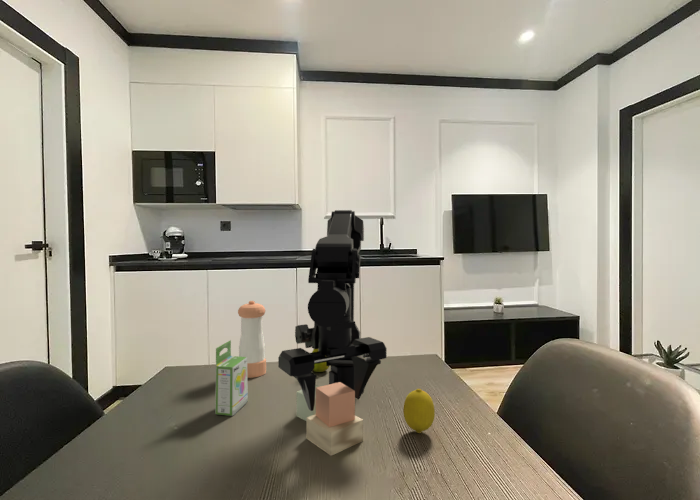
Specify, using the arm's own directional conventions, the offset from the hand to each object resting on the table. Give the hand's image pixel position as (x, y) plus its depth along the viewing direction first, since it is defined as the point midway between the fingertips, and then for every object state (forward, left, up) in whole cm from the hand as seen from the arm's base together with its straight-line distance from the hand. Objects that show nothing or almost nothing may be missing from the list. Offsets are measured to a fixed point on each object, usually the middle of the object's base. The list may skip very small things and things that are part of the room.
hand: (334, 403), depth 65 cm
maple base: (0, 0, -6) cm, 7 cm away
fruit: (-14, -33, -6) cm, 36 cm away
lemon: (-14, +6, -6) cm, 17 cm away
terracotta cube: (0, 0, -2) cm, 3 cm away
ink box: (+12, -22, -6) cm, 26 cm away
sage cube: (-1, -10, -6) cm, 12 cm away
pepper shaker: (+2, -41, -6) cm, 42 cm away
